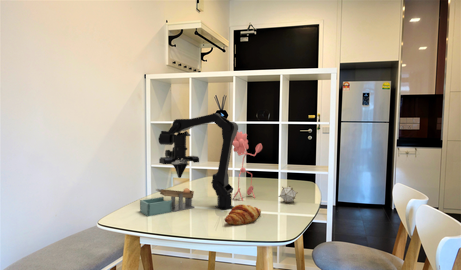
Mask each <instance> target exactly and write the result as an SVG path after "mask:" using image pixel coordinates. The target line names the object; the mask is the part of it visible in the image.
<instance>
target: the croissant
mask: <svg viewBox="0 0 461 270" xmlns="http://www.w3.org/2000/svg"><path fill="white" fill-rule="evenodd" d="M261 213H262V209H261V208H258V207H256V206H252V205H249V204H247V205H246V204H238V205H237V204H235V206H234V207H233V208H231V210H230V211H229V212H228V214H227V215H226V216H225V218H224V221H225V222H224V223H226V224H228V225H234V226H238V225H239V226H240V225H244V224H245V225H246V224H249V223H253V222H255V221H256V220H257V219H258V217H259V216H260V215H261Z"/></svg>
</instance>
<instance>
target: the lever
mask: <svg viewBox="0 0 461 270" xmlns="http://www.w3.org/2000/svg"><path fill="white" fill-rule="evenodd" d="M189 190H190V189H189ZM155 191H157V192H159V193H160V195H162V196H163V197H170V198H171V197H175V198H179V194H183V199H185V198H192V199H193V198H194V194H195V191H193V190H190V193H183V191H184V190H173V189H172V190H171V189H164V188H163V189H162V188H161V189H160V188H155Z"/></svg>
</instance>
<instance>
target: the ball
mask: <svg viewBox="0 0 461 270" xmlns="http://www.w3.org/2000/svg"><path fill="white" fill-rule="evenodd" d="M182 191H183V193H190V188H187V187H186V188H184V189H183V190H182Z"/></svg>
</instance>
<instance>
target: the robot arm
mask: <svg viewBox="0 0 461 270" xmlns="http://www.w3.org/2000/svg"><path fill="white" fill-rule="evenodd" d="M212 123H214V124H216V125H217V127H219V128H220V129H221V137H222V145H221V152H220V157H219V163H218V169H217V172H216V173H213V174H212V180H211V185H212V186H211V187H212V189H213V190H214V191H215V195H216V196H217V204H216V205H214V207H215V208H216V209H220V210H222V211H223V210H229V209H232V208H233V207H235V206H234V205H232V193H233V192H234V187H232V185H231V184H230V183H229V182H230V180H229V172H228V171H229V165H230V159H231V156H232V155H231V154H232V149H233V145H232V143H233V142H234V139H235V137H236V134H237V132H239V125H238V124H237V123H236V122H235V121H231V120H229V119H228V118H226V117H224V116H222V115H221V114H220V113H219V112H218V113H217V112H214V113H210V114H206V115H202V116H201V115H200V116H198V117H192V118H177V119H174V120H173V122H172V125H171V127H170V128H169V129H168V130H161V131H160V134H159V136H158V143H159V145H164V146H172V145H173V147H172V148H171V149H166V150H165V153H164V154H165V156H162V157H160V158H159V164H161V165H172V166H173V167H174V169H175V171H176V175H177V178H179V179H181V178H182V175H183V173H184V171H185V170H186V167H188V165H190V163H188V162H192V163H200V157H199V156H197V155H187V150H188V147H187V137H191V134H190V132H188V130H191V129H192V128H194V127H199V126H203V125H207V124H212Z"/></svg>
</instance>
